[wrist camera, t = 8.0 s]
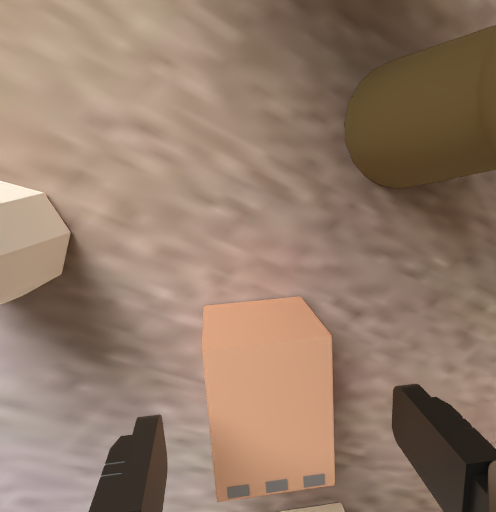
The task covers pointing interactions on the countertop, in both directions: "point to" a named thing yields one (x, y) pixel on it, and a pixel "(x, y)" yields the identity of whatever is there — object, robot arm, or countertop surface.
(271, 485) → the orange box
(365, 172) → the brown pawn
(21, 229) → the salt shaker
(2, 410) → the countertop surface
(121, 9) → the countertop surface
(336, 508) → the cream box
